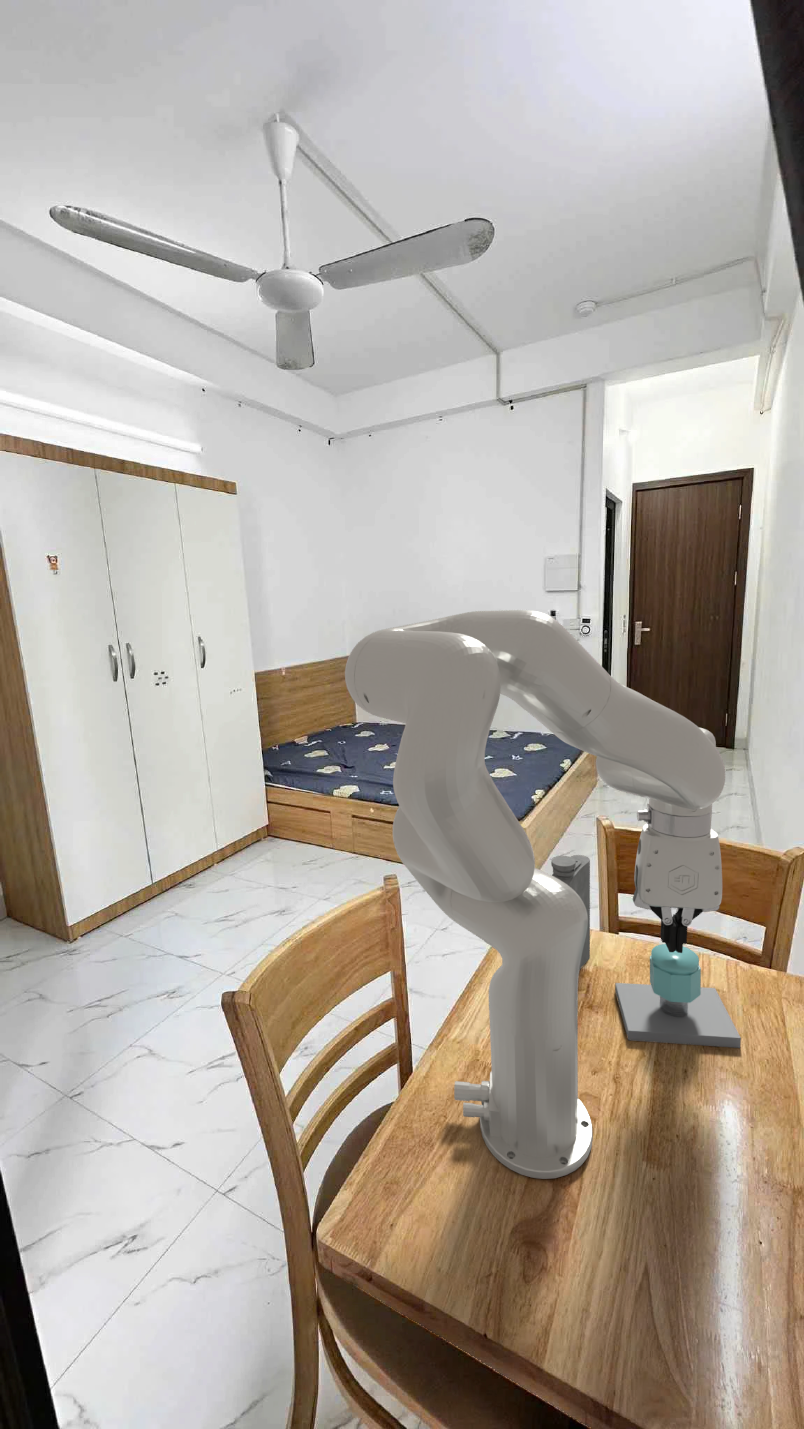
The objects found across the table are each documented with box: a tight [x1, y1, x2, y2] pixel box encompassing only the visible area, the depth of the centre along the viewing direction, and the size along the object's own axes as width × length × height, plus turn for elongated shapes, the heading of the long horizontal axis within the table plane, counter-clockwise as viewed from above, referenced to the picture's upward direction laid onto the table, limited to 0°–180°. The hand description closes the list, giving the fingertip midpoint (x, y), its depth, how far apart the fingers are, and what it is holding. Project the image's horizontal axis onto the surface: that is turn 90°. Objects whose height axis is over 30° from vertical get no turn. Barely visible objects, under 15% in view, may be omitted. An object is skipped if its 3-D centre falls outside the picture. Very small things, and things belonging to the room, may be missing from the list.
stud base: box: [614, 982, 742, 1049], centre depth 84 cm, size 14×10×2 cm
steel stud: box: [660, 996, 688, 1017], centre depth 83 cm, size 4×4×7 cm
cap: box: [649, 943, 702, 1003], centre depth 82 cm, size 6×6×5 cm
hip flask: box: [550, 854, 591, 971], centre depth 92 cm, size 16×4×20 cm, turn 148°
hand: (672, 946), depth 81 cm, fingers closed
